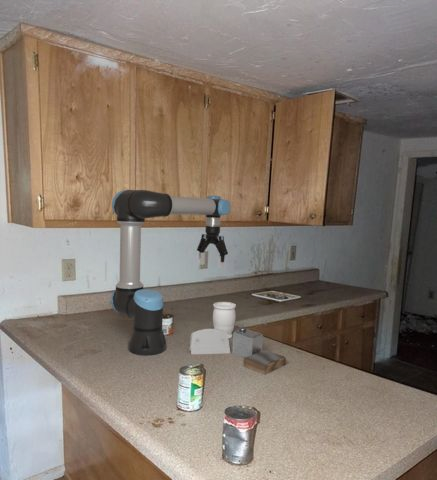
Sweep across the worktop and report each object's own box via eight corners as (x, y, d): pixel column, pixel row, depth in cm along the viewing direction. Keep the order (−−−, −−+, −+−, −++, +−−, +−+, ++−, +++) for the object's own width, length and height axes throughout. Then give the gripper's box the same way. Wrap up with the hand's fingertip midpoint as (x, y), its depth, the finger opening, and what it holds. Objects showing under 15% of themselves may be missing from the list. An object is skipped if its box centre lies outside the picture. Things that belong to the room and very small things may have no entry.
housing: (251, 361, 149) (252, 334, 148) (232, 353, 155) (233, 328, 155) (261, 356, 153) (263, 330, 152) (242, 349, 160) (243, 324, 159)
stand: (264, 374, 136) (265, 365, 136) (243, 366, 143) (243, 357, 143) (285, 364, 146) (285, 356, 146) (264, 357, 153) (264, 349, 152)
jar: (219, 331, 183) (220, 300, 181) (238, 335, 178) (240, 303, 176) (207, 337, 174) (208, 304, 172) (227, 341, 168) (228, 308, 167)
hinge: (190, 354, 153) (189, 328, 155) (188, 354, 157) (188, 329, 160) (231, 353, 156) (230, 328, 158) (228, 352, 160) (228, 328, 163)
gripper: (235, 227, 192) (234, 269, 194) (201, 224, 209) (200, 262, 211) (225, 227, 186) (223, 270, 188) (191, 224, 203) (190, 263, 205)
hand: (211, 266), depth 199 cm, fingers open, 13 cm apart
